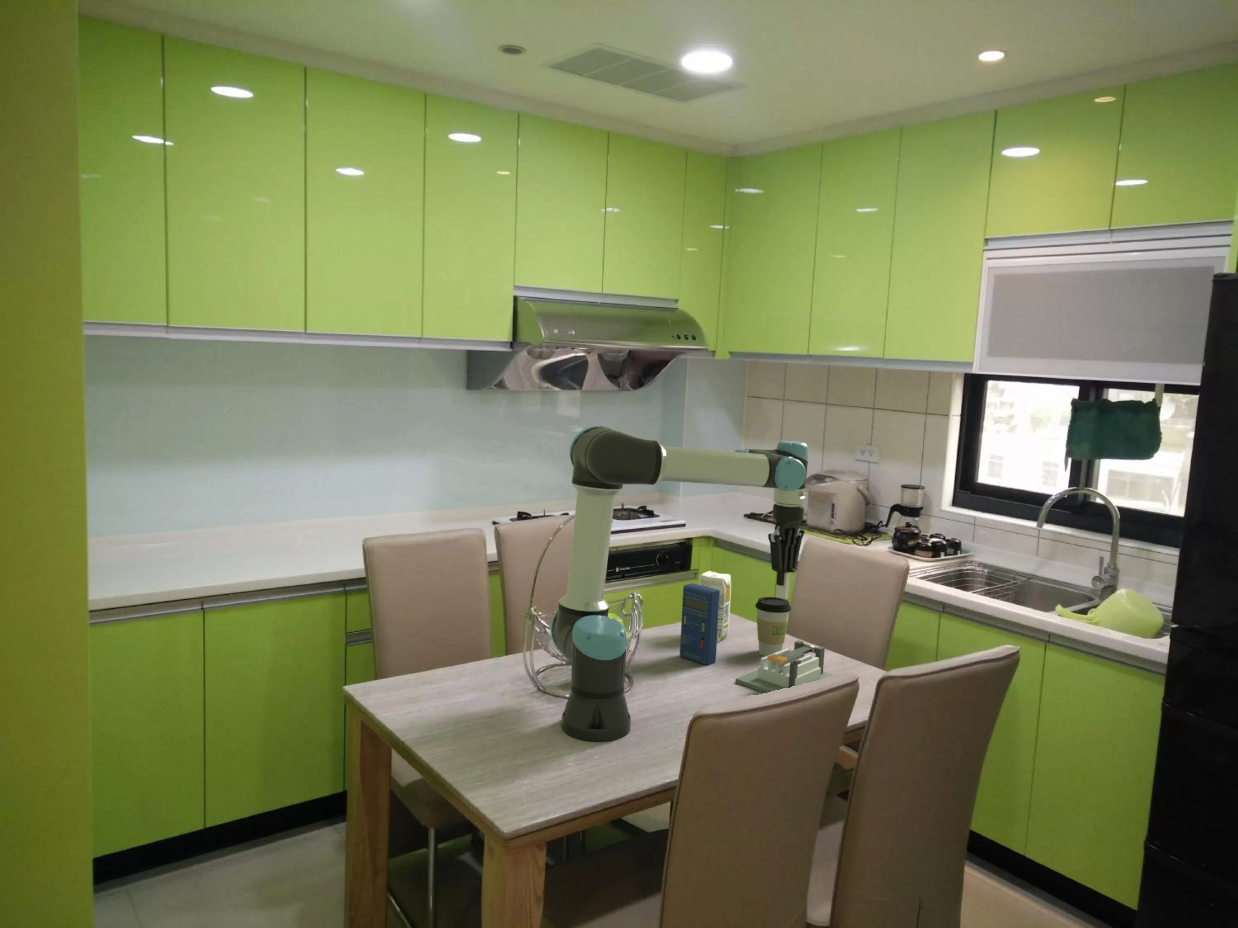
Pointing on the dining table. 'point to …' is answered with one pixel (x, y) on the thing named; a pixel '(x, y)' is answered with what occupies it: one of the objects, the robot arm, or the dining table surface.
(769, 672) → the heatsink base
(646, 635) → the dining table surface
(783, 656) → the lever
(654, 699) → the dining table surface
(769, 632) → the coffee cup
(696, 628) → the electronic device
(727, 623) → the juice carton
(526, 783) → the dining table surface
